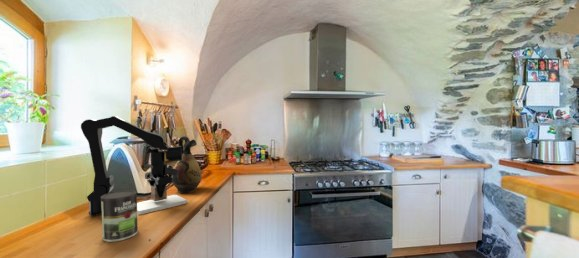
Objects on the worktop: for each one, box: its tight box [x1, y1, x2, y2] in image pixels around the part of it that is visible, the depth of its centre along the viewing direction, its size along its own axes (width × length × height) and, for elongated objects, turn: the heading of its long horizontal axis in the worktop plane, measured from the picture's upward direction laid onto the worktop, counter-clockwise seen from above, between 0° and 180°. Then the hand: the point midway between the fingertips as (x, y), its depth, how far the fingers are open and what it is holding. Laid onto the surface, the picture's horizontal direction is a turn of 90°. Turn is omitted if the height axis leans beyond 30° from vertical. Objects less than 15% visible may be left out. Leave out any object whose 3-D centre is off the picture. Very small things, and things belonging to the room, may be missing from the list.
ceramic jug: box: [171, 135, 203, 194], centre depth 143 cm, size 17×15×30 cm
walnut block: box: [150, 185, 168, 201], centre depth 119 cm, size 5×5×6 cm
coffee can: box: [101, 189, 139, 243], centre depth 88 cm, size 10×10×14 cm
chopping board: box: [137, 194, 188, 216], centre depth 119 cm, size 20×13×2 cm, turn 135°
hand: (158, 196), depth 119 cm, fingers closed on walnut block, 5 cm apart
